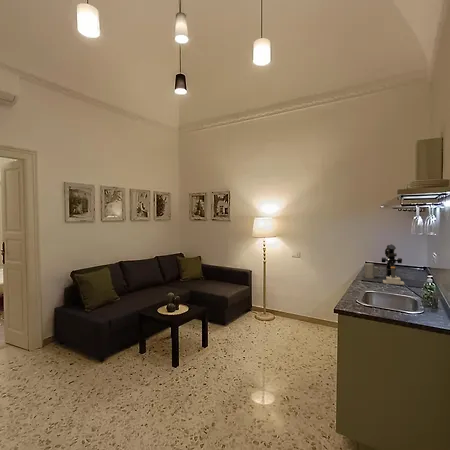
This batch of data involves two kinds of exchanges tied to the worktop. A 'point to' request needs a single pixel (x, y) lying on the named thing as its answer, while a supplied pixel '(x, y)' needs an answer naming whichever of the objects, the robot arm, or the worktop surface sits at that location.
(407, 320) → the worktop surface
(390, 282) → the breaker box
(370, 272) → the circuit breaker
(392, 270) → the lever
